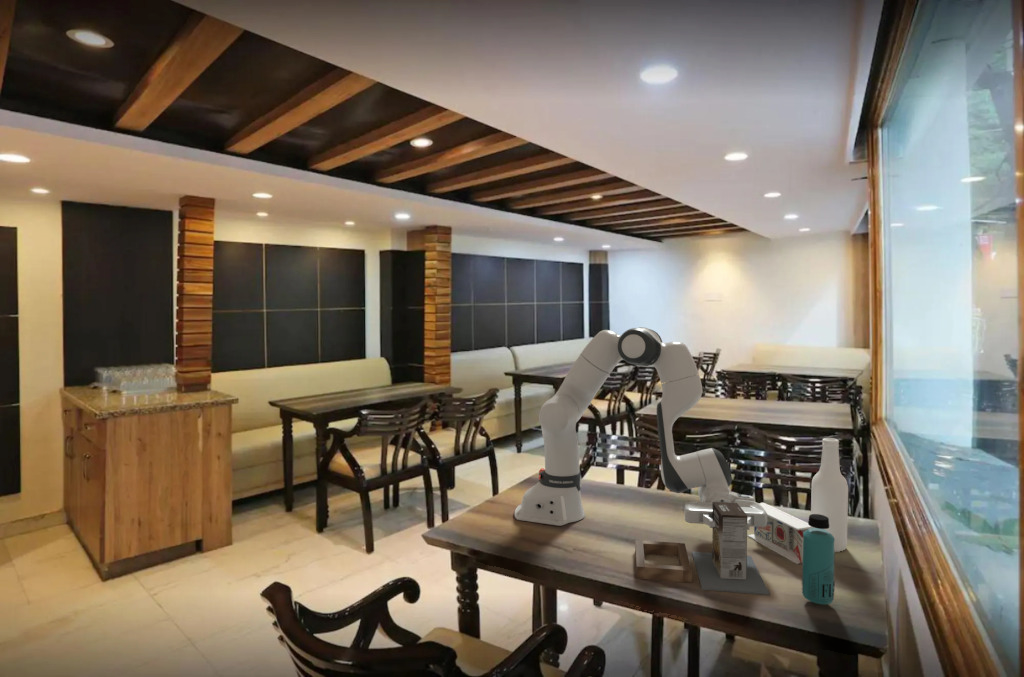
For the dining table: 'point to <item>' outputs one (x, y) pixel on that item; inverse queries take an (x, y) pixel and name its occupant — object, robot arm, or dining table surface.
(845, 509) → the alcohol
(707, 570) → the rubber mat
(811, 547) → the beverage bottle
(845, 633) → the dining table surface
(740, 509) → the coffee box
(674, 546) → the walnut cradle
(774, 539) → the cigarette display
